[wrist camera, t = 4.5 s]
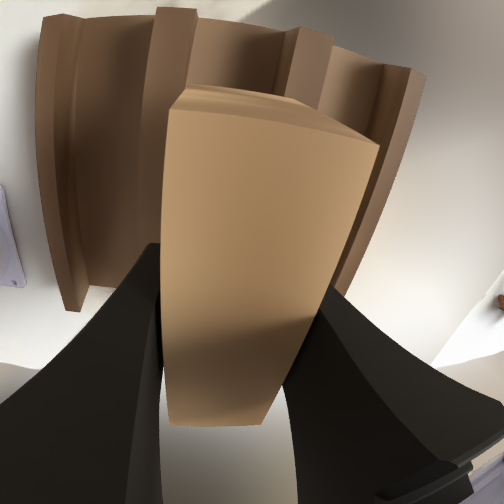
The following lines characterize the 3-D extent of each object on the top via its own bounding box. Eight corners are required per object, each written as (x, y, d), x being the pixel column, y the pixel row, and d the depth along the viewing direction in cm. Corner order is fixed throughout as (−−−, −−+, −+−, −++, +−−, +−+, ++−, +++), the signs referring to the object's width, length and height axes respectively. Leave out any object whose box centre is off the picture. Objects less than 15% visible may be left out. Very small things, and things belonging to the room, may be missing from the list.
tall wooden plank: (172, 315, 12) (169, 425, 8) (189, 83, 7) (169, 108, 3) (242, 318, 13) (260, 424, 9) (292, 98, 8) (379, 145, 4)
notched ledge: (78, 278, 18) (65, 310, 16) (70, 21, 9) (43, 17, 7) (317, 293, 22) (330, 323, 20) (393, 69, 13) (426, 76, 11)
